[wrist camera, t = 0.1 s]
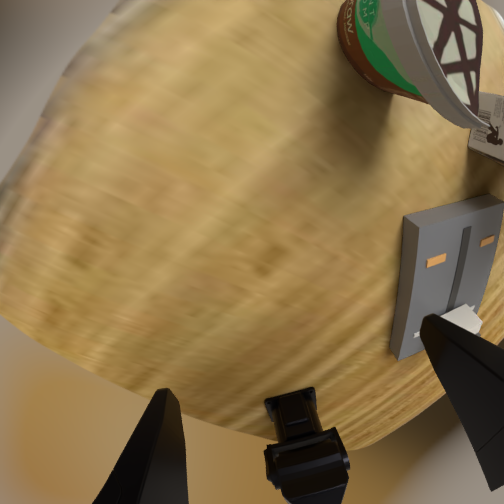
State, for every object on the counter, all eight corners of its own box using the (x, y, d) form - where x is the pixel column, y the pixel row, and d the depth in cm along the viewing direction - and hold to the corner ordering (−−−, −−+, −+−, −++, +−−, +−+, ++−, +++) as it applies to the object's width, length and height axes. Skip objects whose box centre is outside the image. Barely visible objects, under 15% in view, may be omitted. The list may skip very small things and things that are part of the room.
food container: (319, -43, 12) (386, -101, 4) (390, -23, 13) (475, -52, 5) (320, 101, 19) (404, 113, 10) (392, 111, 19) (488, 136, 11)
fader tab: (458, 326, 30) (475, 347, 26) (428, 341, 30) (445, 364, 26) (466, 303, 28) (485, 324, 24) (435, 318, 28) (454, 341, 24)
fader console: (463, 313, 33) (473, 325, 31) (389, 347, 33) (398, 362, 31) (489, 193, 24) (506, 203, 22) (403, 215, 24) (420, 228, 22)
